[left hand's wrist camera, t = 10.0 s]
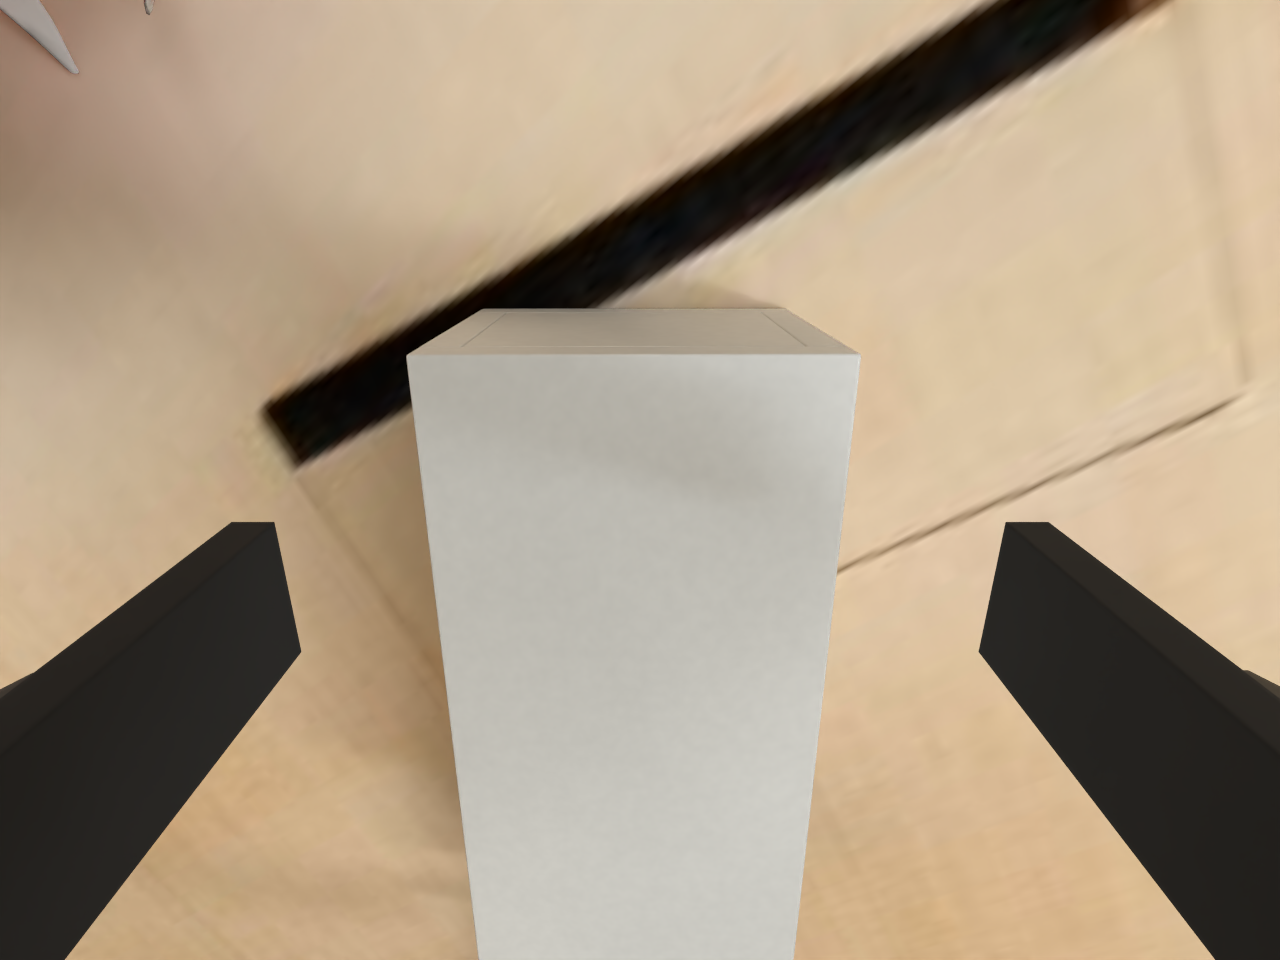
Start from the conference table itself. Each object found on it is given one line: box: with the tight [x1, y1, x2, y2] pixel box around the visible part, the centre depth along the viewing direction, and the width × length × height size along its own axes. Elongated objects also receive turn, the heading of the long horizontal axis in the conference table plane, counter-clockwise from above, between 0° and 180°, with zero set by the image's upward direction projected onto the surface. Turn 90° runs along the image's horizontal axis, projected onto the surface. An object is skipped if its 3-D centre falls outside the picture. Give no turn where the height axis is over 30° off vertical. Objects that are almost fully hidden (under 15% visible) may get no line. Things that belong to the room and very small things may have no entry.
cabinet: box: [406, 308, 861, 960], centre depth 23 cm, size 20×10×8 cm, turn 0°
